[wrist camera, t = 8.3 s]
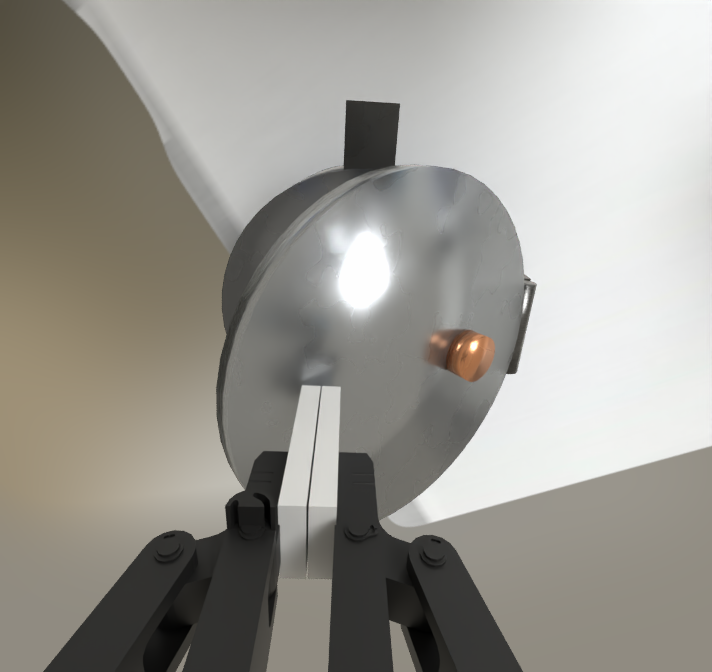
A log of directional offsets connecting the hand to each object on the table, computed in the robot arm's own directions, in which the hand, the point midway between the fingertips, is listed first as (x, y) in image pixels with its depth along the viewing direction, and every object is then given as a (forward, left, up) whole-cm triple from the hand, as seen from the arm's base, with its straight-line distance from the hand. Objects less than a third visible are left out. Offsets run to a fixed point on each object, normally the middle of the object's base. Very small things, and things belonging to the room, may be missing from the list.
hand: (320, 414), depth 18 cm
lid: (0, +4, -5) cm, 7 cm away
